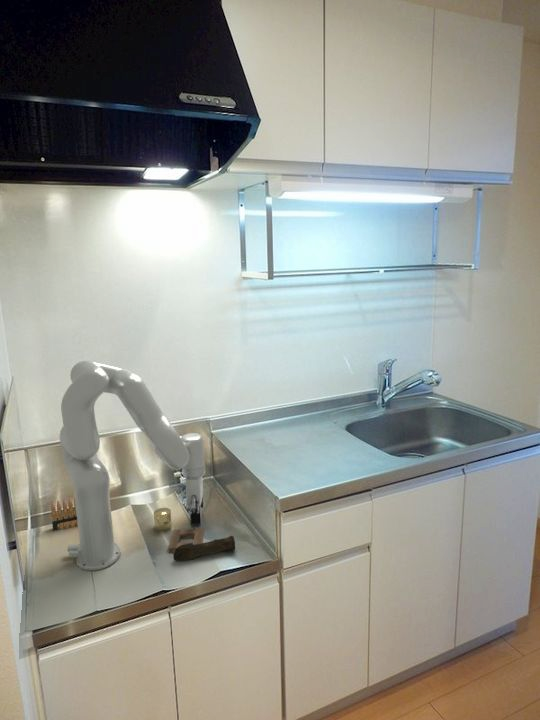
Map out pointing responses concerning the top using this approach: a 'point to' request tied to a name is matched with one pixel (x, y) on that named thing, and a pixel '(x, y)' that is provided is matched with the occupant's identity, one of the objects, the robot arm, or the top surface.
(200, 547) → the dark brown log
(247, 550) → the top surface
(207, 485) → the top surface
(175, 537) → the bore block
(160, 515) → the olive gold rounded cube
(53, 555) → the top surface
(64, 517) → the ammunition clip
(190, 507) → the square bit
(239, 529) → the top surface
